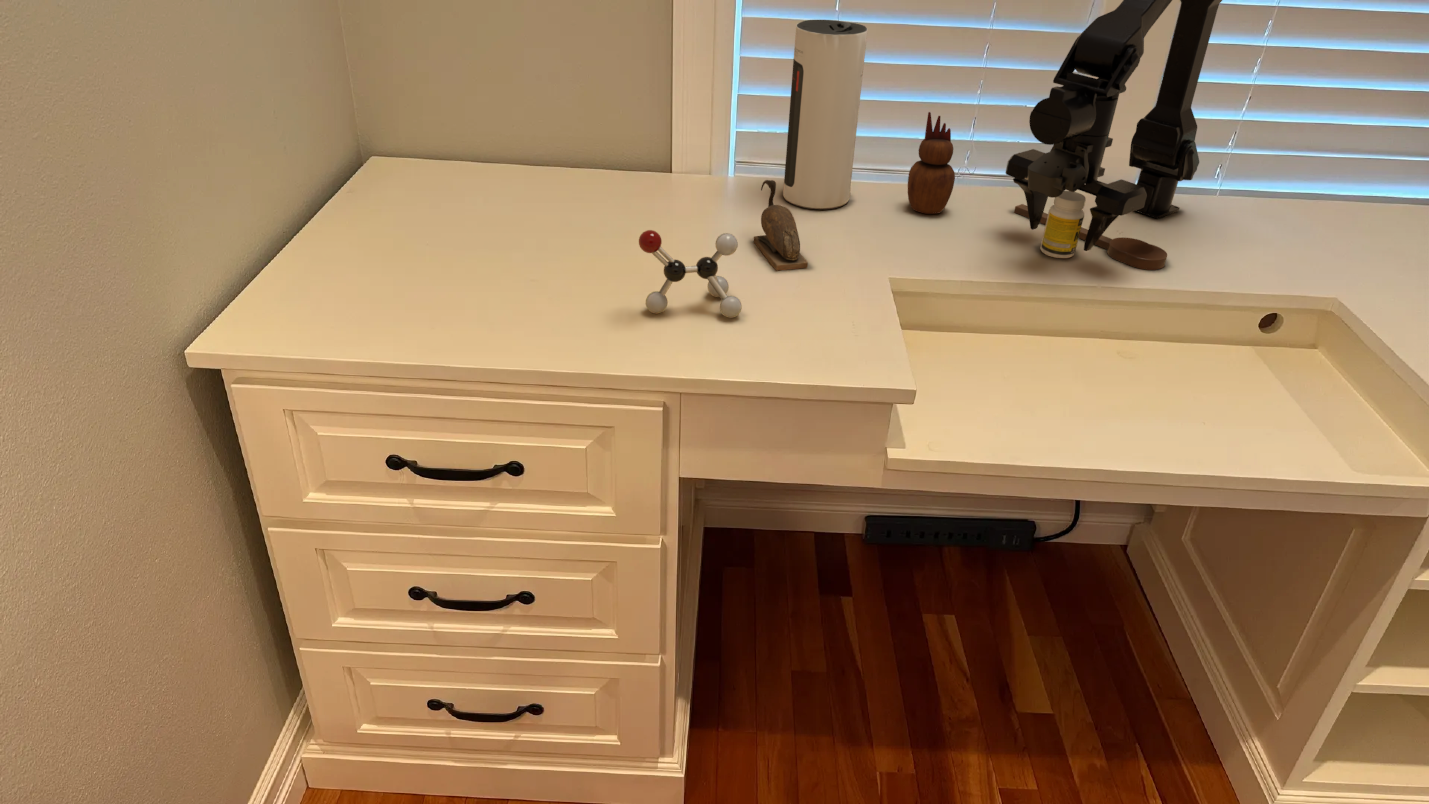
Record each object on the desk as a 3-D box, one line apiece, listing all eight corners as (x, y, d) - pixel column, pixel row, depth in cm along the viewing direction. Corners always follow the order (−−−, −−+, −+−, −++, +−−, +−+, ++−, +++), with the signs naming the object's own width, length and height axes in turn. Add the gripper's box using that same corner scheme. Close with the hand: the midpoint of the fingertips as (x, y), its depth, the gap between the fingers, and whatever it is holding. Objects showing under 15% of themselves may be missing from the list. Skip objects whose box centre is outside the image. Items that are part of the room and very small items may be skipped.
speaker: (785, 183, 159) (799, 12, 144) (850, 188, 158) (870, 17, 143) (780, 207, 150) (793, 28, 136) (848, 213, 149) (869, 33, 135)
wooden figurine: (900, 212, 150) (914, 114, 142) (908, 200, 154) (923, 104, 146) (944, 220, 148) (962, 121, 140) (951, 207, 152) (969, 110, 144)
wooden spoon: (1005, 215, 151) (1007, 205, 150) (1029, 207, 154) (1031, 198, 153) (1149, 273, 135) (1152, 263, 134) (1172, 263, 138) (1176, 253, 137)
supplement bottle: (1075, 261, 137) (1090, 203, 133) (1041, 257, 138) (1054, 200, 133) (1072, 247, 141) (1086, 191, 137) (1038, 243, 142) (1051, 187, 137)
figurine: (743, 229, 142) (747, 171, 137) (772, 227, 143) (777, 169, 138) (776, 271, 131) (781, 209, 126) (808, 268, 132) (814, 206, 127)
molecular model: (743, 320, 119) (749, 238, 113) (646, 330, 116) (646, 246, 110) (724, 290, 125) (728, 211, 120) (632, 299, 123) (631, 218, 117)
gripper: (991, 120, 132) (970, 229, 140) (1113, 161, 120) (1082, 277, 128) (1042, 108, 138) (1019, 213, 146) (1163, 145, 126) (1130, 257, 134)
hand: (1059, 239), depth 138 cm, fingers open, 8 cm apart
